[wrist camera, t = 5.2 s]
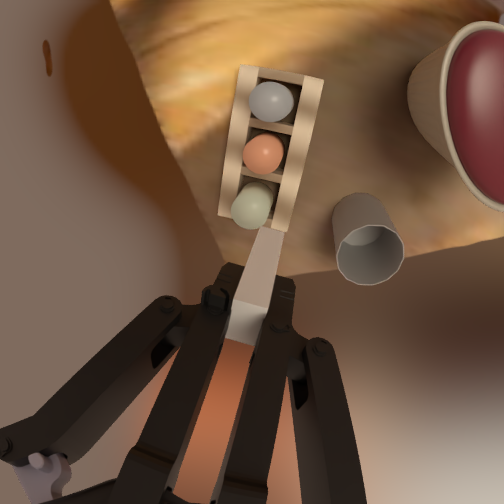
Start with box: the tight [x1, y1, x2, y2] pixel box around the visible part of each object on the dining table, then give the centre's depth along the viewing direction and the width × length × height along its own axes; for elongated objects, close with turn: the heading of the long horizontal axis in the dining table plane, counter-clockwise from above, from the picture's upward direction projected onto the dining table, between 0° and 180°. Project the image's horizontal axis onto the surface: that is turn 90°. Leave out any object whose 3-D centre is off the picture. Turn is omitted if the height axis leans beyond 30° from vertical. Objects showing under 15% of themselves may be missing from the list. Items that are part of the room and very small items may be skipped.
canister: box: [407, 21, 504, 212], centre depth 17 cm, size 18×18×21 cm
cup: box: [332, 193, 404, 285], centre depth 34 cm, size 8×8×10 cm
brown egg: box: [243, 132, 285, 174], centre depth 32 cm, size 4×4×5 cm
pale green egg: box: [231, 182, 273, 229], centre depth 34 cm, size 4×4×5 cm
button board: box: [218, 64, 324, 232], centre depth 34 cm, size 21×10×3 cm, turn 170°
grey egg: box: [249, 82, 294, 122], centre depth 27 cm, size 4×4×5 cm
